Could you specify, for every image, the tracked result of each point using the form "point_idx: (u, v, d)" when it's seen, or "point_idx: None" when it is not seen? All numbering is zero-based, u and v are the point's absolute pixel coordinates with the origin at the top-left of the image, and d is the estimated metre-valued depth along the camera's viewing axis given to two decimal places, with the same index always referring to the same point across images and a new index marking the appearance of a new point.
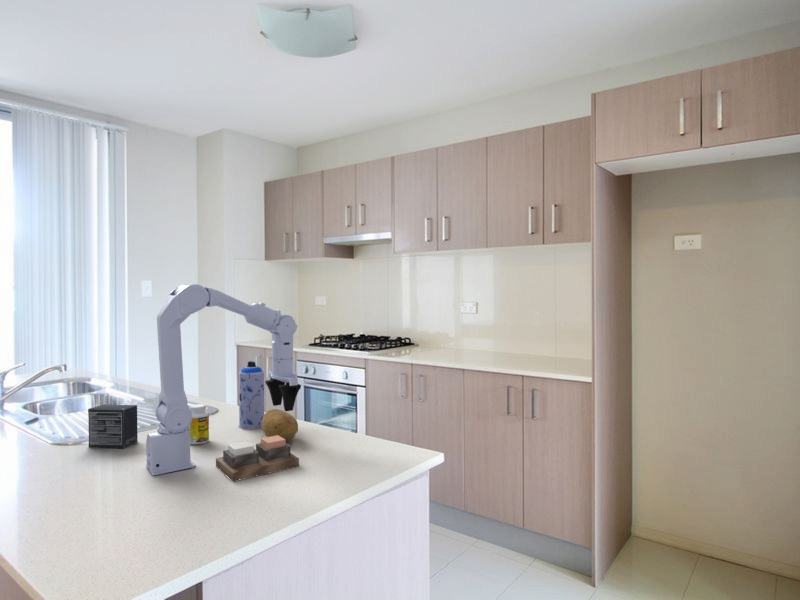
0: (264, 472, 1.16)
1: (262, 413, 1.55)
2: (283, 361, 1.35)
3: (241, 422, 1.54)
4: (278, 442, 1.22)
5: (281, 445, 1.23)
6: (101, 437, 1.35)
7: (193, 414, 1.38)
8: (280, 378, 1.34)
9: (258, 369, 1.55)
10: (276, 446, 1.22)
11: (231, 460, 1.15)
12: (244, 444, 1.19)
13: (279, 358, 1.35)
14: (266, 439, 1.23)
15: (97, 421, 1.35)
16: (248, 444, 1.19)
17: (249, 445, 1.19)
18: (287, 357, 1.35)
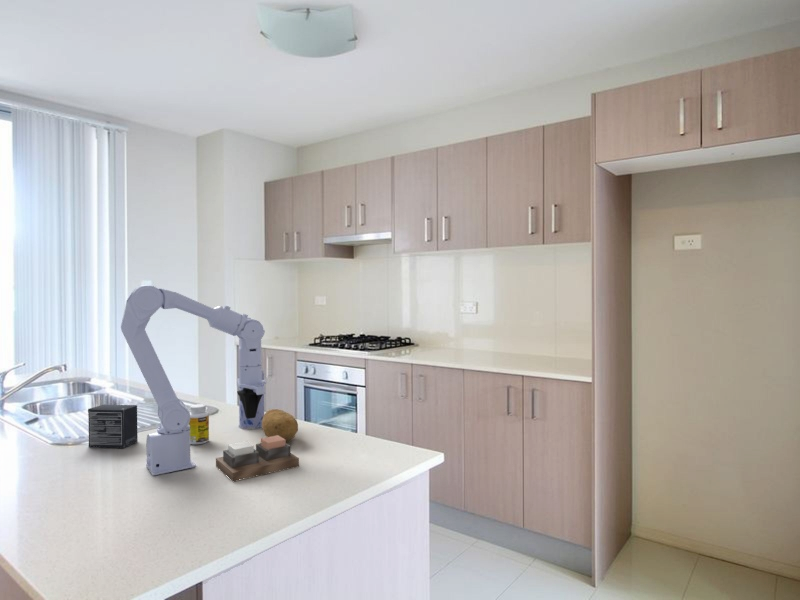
0: (264, 472, 1.16)
1: (262, 413, 1.55)
2: (250, 368, 1.27)
3: (241, 422, 1.54)
4: (278, 442, 1.22)
5: (281, 445, 1.23)
6: (101, 437, 1.35)
7: (193, 414, 1.38)
8: (247, 386, 1.26)
9: None
10: (276, 446, 1.22)
11: (231, 460, 1.15)
12: (244, 444, 1.19)
13: (244, 365, 1.27)
14: (266, 439, 1.23)
15: (97, 421, 1.35)
16: (248, 444, 1.19)
17: (249, 445, 1.19)
18: (253, 364, 1.27)
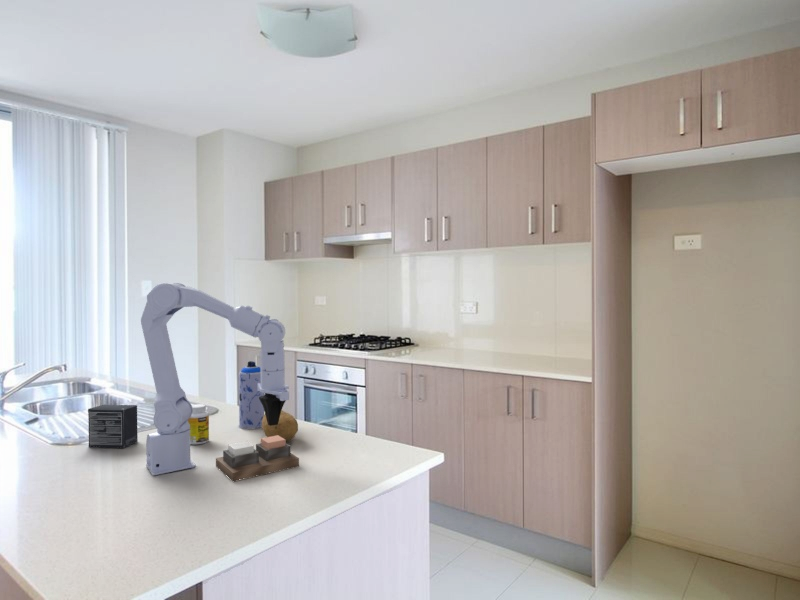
0: (264, 472, 1.16)
1: (262, 413, 1.55)
2: (273, 373, 1.21)
3: (241, 422, 1.54)
4: (278, 442, 1.22)
5: (281, 445, 1.23)
6: (101, 437, 1.35)
7: (193, 414, 1.38)
8: (270, 392, 1.20)
9: (258, 369, 1.55)
10: (276, 446, 1.22)
11: (231, 460, 1.15)
12: (244, 444, 1.19)
13: (263, 369, 1.21)
14: (266, 439, 1.23)
15: (97, 421, 1.35)
16: (248, 444, 1.19)
17: (249, 445, 1.19)
18: (271, 369, 1.20)
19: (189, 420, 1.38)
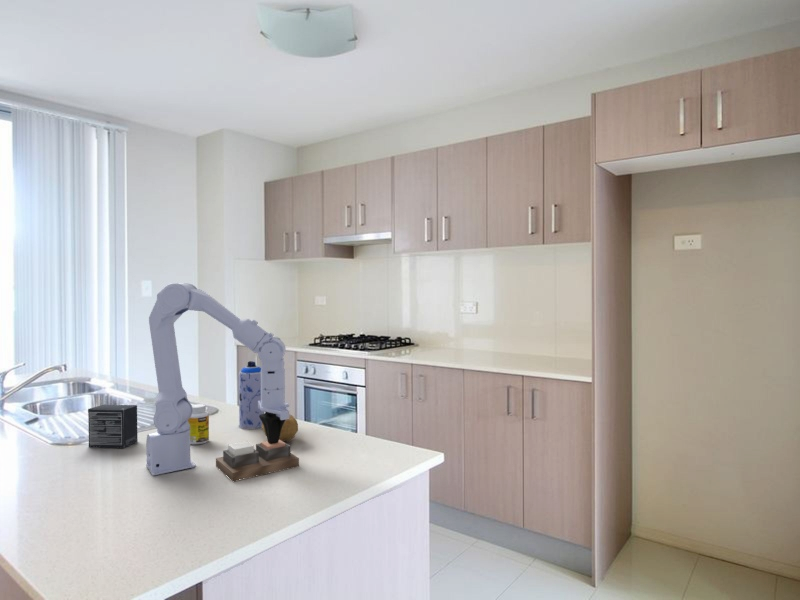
0: (264, 472, 1.16)
1: (262, 413, 1.55)
2: (273, 392, 1.21)
3: (241, 422, 1.54)
4: (278, 446, 1.22)
5: None
6: (101, 437, 1.35)
7: (193, 414, 1.38)
8: (270, 411, 1.20)
9: (258, 369, 1.55)
10: None
11: (231, 460, 1.15)
12: (244, 444, 1.19)
13: (263, 388, 1.21)
14: (266, 443, 1.23)
15: (97, 421, 1.35)
16: (248, 444, 1.19)
17: (249, 445, 1.19)
18: (271, 387, 1.21)
19: (189, 420, 1.38)
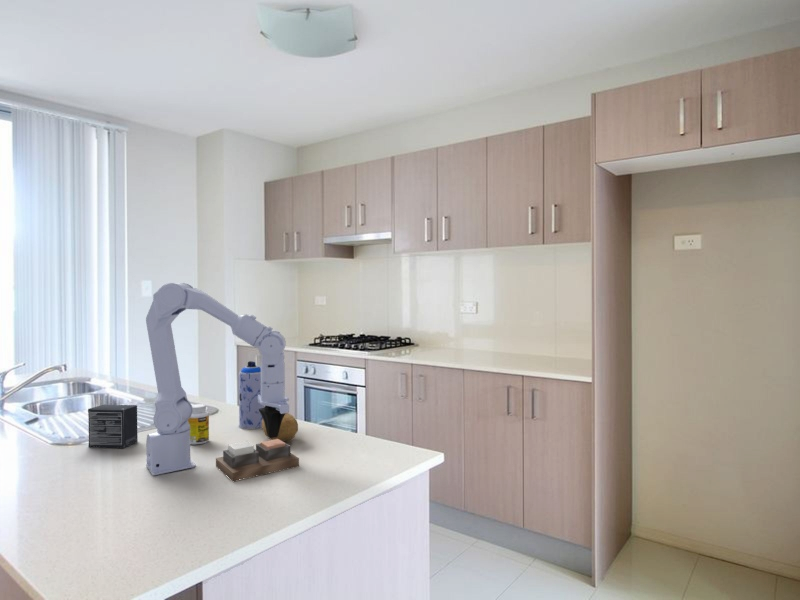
0: (264, 472, 1.16)
1: None
2: (273, 385, 1.21)
3: (241, 422, 1.54)
4: (278, 446, 1.22)
5: None
6: (101, 437, 1.35)
7: (193, 414, 1.38)
8: (270, 404, 1.20)
9: (258, 369, 1.55)
10: None
11: (231, 460, 1.15)
12: (244, 444, 1.19)
13: (263, 381, 1.21)
14: (266, 443, 1.23)
15: (97, 421, 1.35)
16: (248, 444, 1.19)
17: (249, 445, 1.19)
18: (271, 381, 1.20)
19: (189, 420, 1.38)
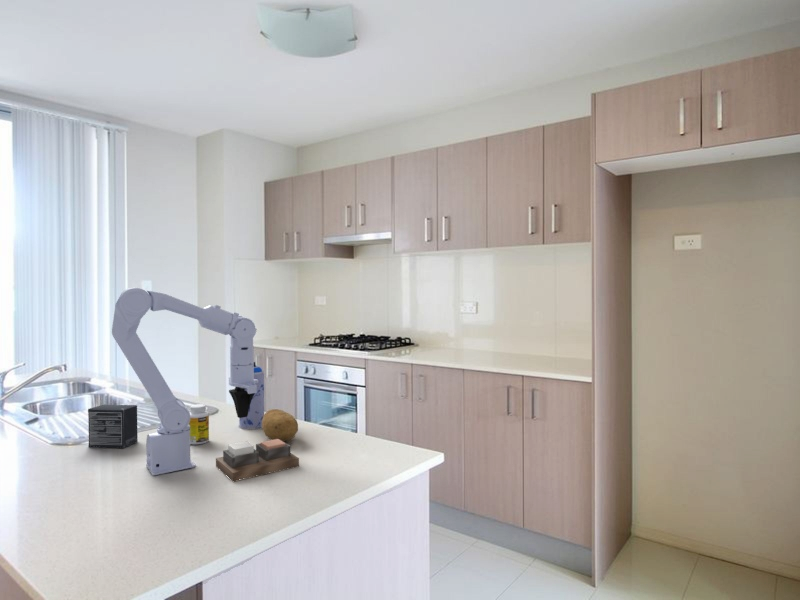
0: (264, 472, 1.16)
1: (262, 413, 1.55)
2: (242, 367, 1.26)
3: (241, 422, 1.54)
4: (278, 446, 1.22)
5: None
6: (101, 437, 1.35)
7: (193, 414, 1.38)
8: (238, 385, 1.25)
9: (258, 369, 1.55)
10: None
11: (231, 460, 1.15)
12: (244, 444, 1.19)
13: (236, 364, 1.26)
14: (266, 443, 1.23)
15: (97, 421, 1.35)
16: (248, 444, 1.19)
17: (249, 445, 1.19)
18: (245, 363, 1.26)
19: None
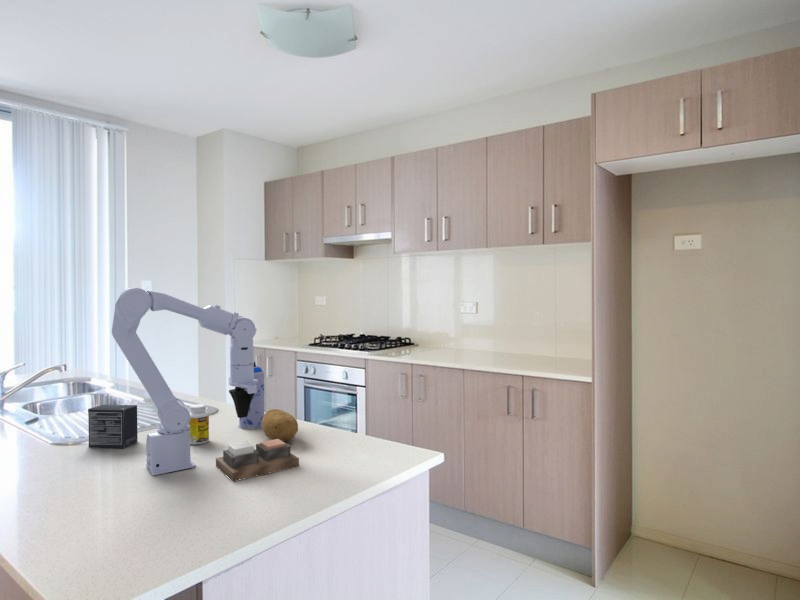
0: (264, 472, 1.16)
1: (262, 413, 1.55)
2: (242, 367, 1.26)
3: (241, 422, 1.54)
4: (278, 446, 1.22)
5: None
6: (101, 437, 1.35)
7: (193, 414, 1.38)
8: (238, 385, 1.25)
9: (258, 369, 1.55)
10: None
11: (231, 460, 1.15)
12: (244, 444, 1.19)
13: (236, 364, 1.26)
14: (266, 443, 1.23)
15: (97, 421, 1.35)
16: (248, 444, 1.19)
17: (249, 445, 1.19)
18: (245, 363, 1.26)
19: None
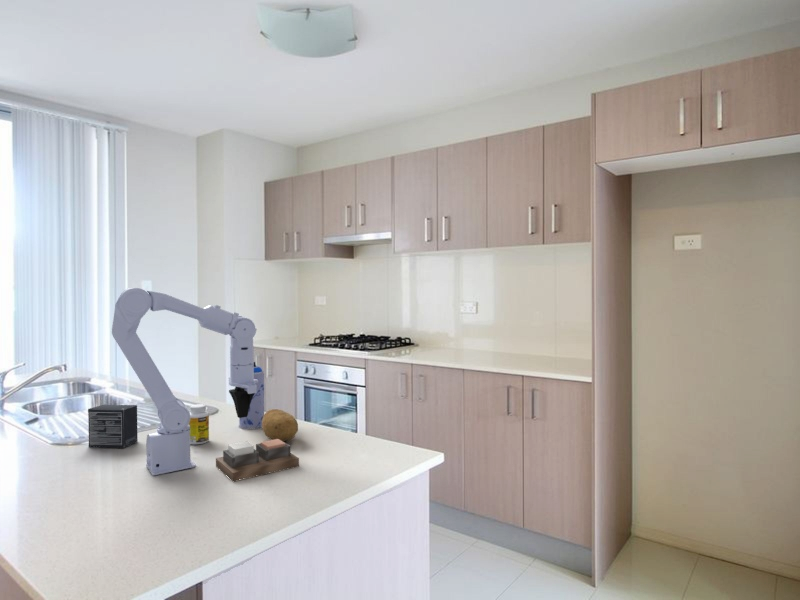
0: (264, 472, 1.16)
1: (262, 413, 1.55)
2: (242, 367, 1.26)
3: (241, 422, 1.54)
4: (278, 446, 1.22)
5: None
6: (101, 437, 1.35)
7: (193, 414, 1.38)
8: (238, 385, 1.25)
9: (258, 369, 1.55)
10: None
11: (231, 460, 1.15)
12: (244, 444, 1.19)
13: (236, 364, 1.26)
14: (266, 443, 1.23)
15: (97, 421, 1.35)
16: (248, 444, 1.19)
17: (249, 445, 1.19)
18: (245, 363, 1.26)
19: None
